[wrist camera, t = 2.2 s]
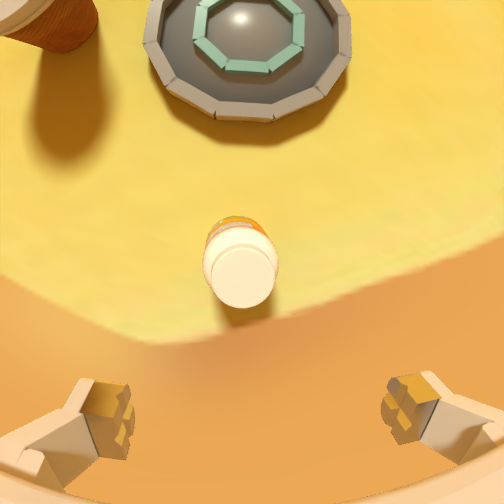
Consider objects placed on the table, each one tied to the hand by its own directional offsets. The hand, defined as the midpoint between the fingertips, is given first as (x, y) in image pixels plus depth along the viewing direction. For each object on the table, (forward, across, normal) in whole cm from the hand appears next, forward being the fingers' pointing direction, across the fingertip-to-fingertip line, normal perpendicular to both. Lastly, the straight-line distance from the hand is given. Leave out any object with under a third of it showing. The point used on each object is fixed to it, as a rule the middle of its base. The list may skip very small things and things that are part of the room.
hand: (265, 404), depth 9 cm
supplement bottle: (+21, 0, 0) cm, 21 cm away
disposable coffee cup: (+21, +18, -22) cm, 36 cm away
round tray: (+21, 0, -20) cm, 29 cm away
